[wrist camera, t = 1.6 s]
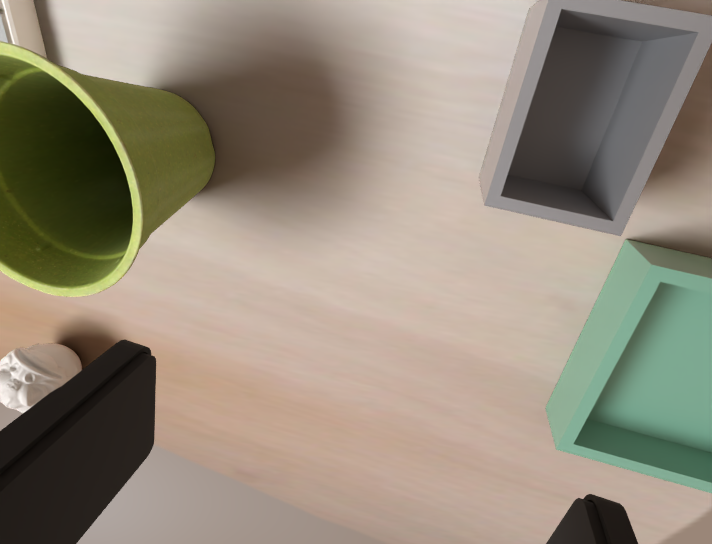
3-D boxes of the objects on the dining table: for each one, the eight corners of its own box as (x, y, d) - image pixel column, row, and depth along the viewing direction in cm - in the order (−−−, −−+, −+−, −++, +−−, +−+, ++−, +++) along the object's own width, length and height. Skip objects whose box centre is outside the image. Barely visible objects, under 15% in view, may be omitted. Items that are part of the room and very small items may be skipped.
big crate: (625, 238, 27) (651, 264, 23) (873, 294, 25) (941, 331, 22) (545, 408, 33) (556, 449, 29) (741, 461, 31) (778, 511, 28)
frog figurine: (110, 348, 40) (45, 399, 33) (89, 394, 43) (26, 450, 36) (51, 309, 39) (-27, 354, 33) (34, 359, 42) (-40, 409, 36)
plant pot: (86, 30, 28) (-118, 7, 18) (259, 78, 27) (144, 82, 17) (92, 203, 34) (-64, 259, 24) (237, 248, 33) (139, 327, 23)
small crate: (528, 9, 23) (551, -12, 18) (655, 31, 23) (723, 17, 17) (478, 176, 27) (484, 205, 21) (585, 200, 27) (620, 236, 21)
